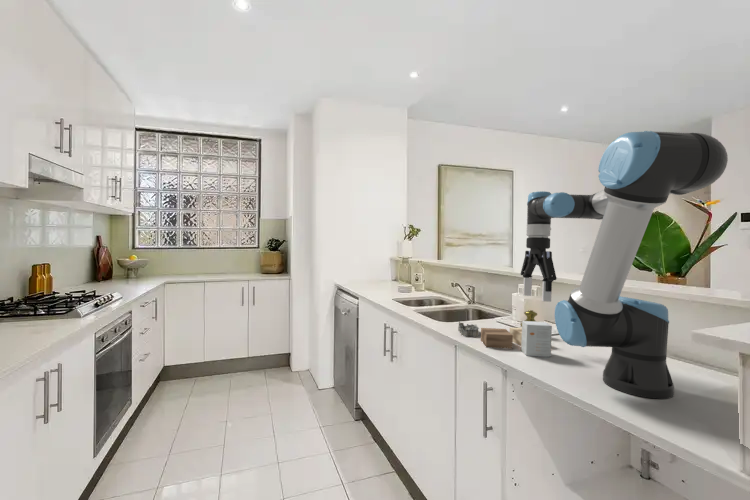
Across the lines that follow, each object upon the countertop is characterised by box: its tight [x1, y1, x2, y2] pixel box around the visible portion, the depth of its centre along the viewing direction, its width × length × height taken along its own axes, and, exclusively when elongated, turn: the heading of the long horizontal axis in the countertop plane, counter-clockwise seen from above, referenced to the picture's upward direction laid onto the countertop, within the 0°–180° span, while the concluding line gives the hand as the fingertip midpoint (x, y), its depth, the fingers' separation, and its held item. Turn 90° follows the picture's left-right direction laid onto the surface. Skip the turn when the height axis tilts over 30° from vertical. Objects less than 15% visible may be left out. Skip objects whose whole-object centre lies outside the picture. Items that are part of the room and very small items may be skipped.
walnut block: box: [480, 327, 514, 350], centre depth 131 cm, size 9×9×5 cm
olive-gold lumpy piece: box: [520, 309, 538, 328], centre depth 146 cm, size 7×7×10 cm
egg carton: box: [457, 320, 480, 338], centre depth 146 cm, size 11×8×4 cm
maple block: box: [508, 327, 522, 347], centre depth 133 cm, size 9×9×5 cm
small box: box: [520, 320, 553, 358], centre depth 121 cm, size 8×6×10 cm
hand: (536, 298), depth 125 cm, fingers open, 13 cm apart
